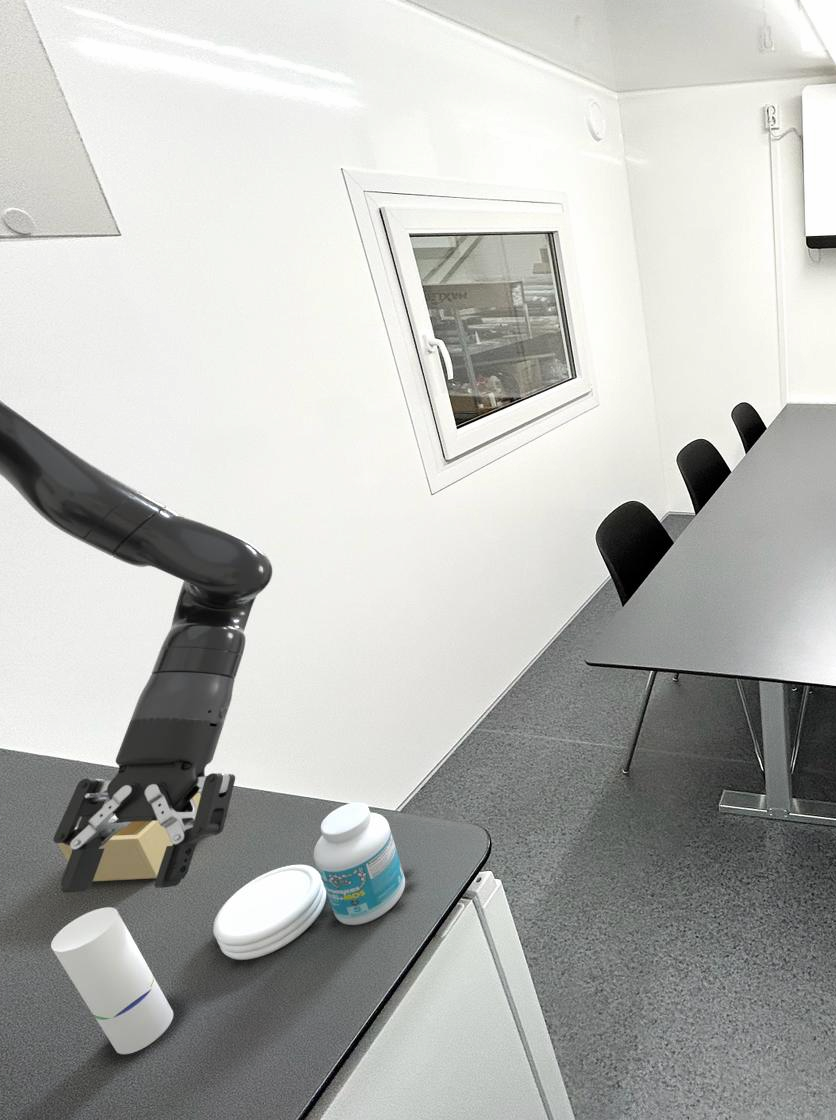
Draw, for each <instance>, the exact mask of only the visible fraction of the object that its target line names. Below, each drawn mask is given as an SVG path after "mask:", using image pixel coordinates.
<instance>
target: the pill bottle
mask: <svg viewBox="0 0 836 1120" xmlns="http://www.w3.org/2000/svg"><path fill="white" fill-rule="evenodd" d="M320 831H321V836H320V838H319V839H318V840H317V842H316V844H315V847H314V850H313V859H314V862H315V865H316V868H317V871H318V873H319V874H320V876H321V880H322V881H323V884H324V887H325V889H326V896H327V897H328V901H329V904H330V906H331V909H332V911H333V915H334V917H335V918H336V919H337V921H339V922H340V923H341V924H343V925H348V926H357V925H363V924H367V923H369V922H372V921H374V920H376V919H378V918H379V917H381V916H383V915H384V914H386V913H387V912H388V911H389V910H391V909H392V908H393V907H394V906H395V905H396V904H397V902H399V900H400V898H401V897H402V895H403V893H404V890H405V886H406V877H405V874H404V871H403V867H402V864H401V861H400V857H399V853H398V850H397V847H396V844H395V840H394V838H393V833H392V830H391V827H390V824H389V822H388V820H387V819H386V818H385V817H384V816H383V815H382V814H379V813H376V812H371V811H370V808H369V806H368V805H367V804H366V803H364V802H350V803H347V804H344V805H342V806H339V807H338V808H336V809H334V810H333V811H331V812H330V813H329V814H327V815H326V816H325V818H324V819H323V820H322V822H321V824H320Z"/></svg>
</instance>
